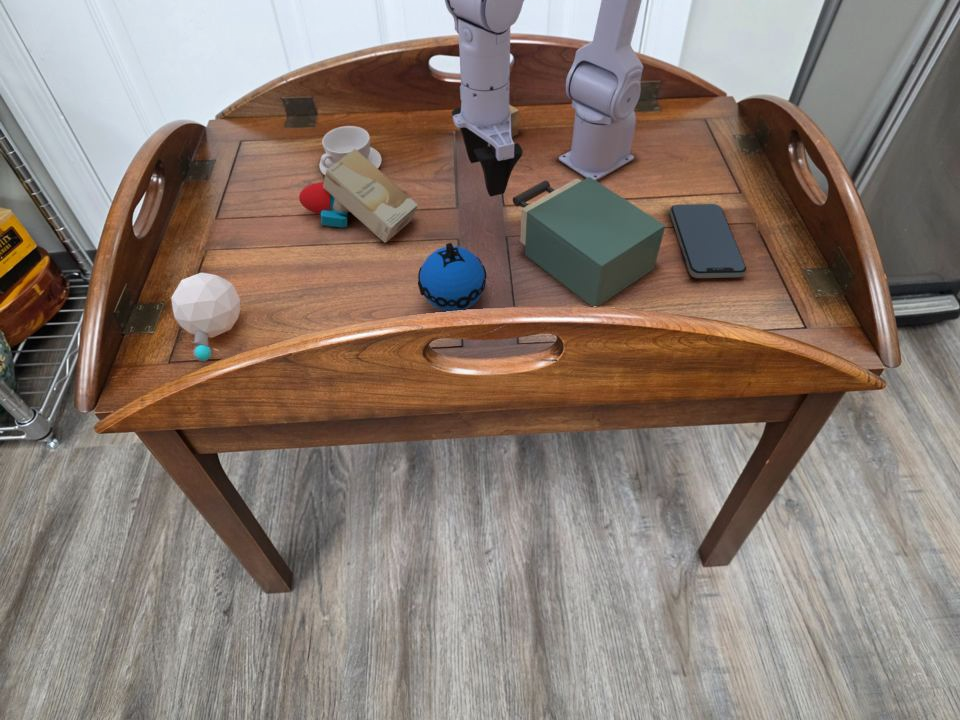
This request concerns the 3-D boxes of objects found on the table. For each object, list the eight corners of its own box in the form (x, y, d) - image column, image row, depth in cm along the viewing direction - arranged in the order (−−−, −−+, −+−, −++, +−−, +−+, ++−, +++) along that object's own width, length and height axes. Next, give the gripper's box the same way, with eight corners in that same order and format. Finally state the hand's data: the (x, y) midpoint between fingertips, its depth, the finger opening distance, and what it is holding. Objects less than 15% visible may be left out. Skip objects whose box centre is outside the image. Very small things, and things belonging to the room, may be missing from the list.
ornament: (496, 315, 84) (496, 258, 76) (433, 334, 82) (426, 277, 74) (473, 272, 89) (471, 214, 81) (413, 289, 87) (405, 231, 79)
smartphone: (720, 202, 95) (749, 270, 85) (717, 211, 96) (745, 280, 87) (669, 203, 95) (692, 272, 85) (666, 212, 96) (689, 281, 87)
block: (501, 123, 111) (501, 99, 108) (518, 134, 109) (518, 110, 106) (481, 132, 110) (481, 108, 106) (498, 144, 108) (498, 120, 104)
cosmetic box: (392, 229, 89) (324, 170, 89) (385, 245, 93) (320, 188, 92) (420, 203, 92) (354, 146, 92) (413, 219, 96) (350, 165, 96)
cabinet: (524, 254, 91) (526, 211, 85) (583, 219, 95) (589, 176, 89) (594, 309, 84) (601, 266, 78) (654, 268, 89) (665, 225, 83)
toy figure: (400, 198, 101) (301, 193, 99) (402, 173, 97) (299, 167, 95) (401, 233, 97) (298, 229, 94) (403, 209, 93) (296, 203, 90)
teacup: (355, 139, 109) (350, 114, 106) (394, 163, 105) (390, 137, 101) (307, 165, 105) (300, 140, 101) (345, 191, 100) (340, 166, 97)
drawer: (500, 226, 93) (500, 193, 89) (553, 197, 97) (555, 164, 93) (583, 290, 85) (588, 257, 80) (637, 255, 89) (644, 222, 84)
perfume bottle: (254, 276, 84) (254, 354, 78) (214, 306, 87) (211, 382, 81) (199, 249, 78) (195, 330, 72) (159, 282, 82) (152, 362, 75)
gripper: (434, 55, 79) (442, 152, 90) (472, 117, 70) (475, 216, 81) (489, 45, 80) (490, 142, 91) (532, 104, 72) (528, 203, 82)
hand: (486, 176), depth 86 cm, fingers open, 7 cm apart
